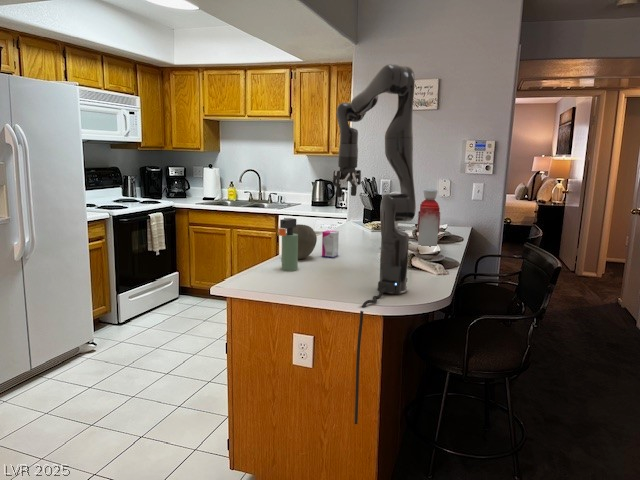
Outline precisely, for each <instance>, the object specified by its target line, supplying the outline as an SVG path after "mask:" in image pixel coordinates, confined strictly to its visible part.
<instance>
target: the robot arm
mask: <svg viewBox="0 0 640 480" xmlns="http://www.w3.org/2000/svg"><path fill="white" fill-rule="evenodd" d="M415 78H416V77H415V72H414V70H413V68H412V67H410V66H408V65H402V64H401V65H400V64H393V63H387V64H385V65H384V66H382V67H381V68H380V69H379V71H377V73H376V75H374V77H373V78H372V79H371V81H370V82H369V84H368V85H367V86H366V87H365V88H364V89H363V90H362V91H361V92H359V93H358V94H357V95H356V96H354V97H353V98H352V100H351V102H341V103H339V104H338V105H337V106H336V107H337V108H336V114H335V115H336V120H337V124H338V129H339V145H338V146H339V147H338V160H337V161H338V162H337V165H338V166H337V167H338V168H339V170H333V174H332V176H333V177H332V186H334V187H335V188H336V194H335V195H336V197H337V198H342V197H343V186H344V184H346V183H347V182H349V183H350V185H351V186H350V196H352V197H356V196H357V191H358V190H357V189H358V188H357V187H358V186H360V185H361V184H362V171H361V169H357V168H358V161H359V158H358V157H359V145H358V143H359V131H358V129H357V128H354V127H351V126H350V124H349V123H358V122H361V121H362V120H363V119H364V117H365V115H366V114H367V112H369V111H370V110H372V109H374V108H375V107H376V105H377V104H378V101H379V96H380V95H382V94H388V95H389V94H390V95H397V107H396V112H395V114H394V116H393V118H392V120H391V121H390V123H389V124H388V126H387V129H386V130H385V134H384V154H385V157H386V160H387V161H388V164H389V165H390V168H392V170H393V171H394V174H395V175H396V178H397V179H398V182H399V188H400V194H399V193H392V194H390V193H386V194H383V196H382V198H381V201H380V256H379V257H380V259H379V260H380V261H379V278H378V279H379V280H378V282H377V292H380V293H379V294H378V295H373V296H372V299H368V300H365V301H364V302H363V303H362V305H361V308H362V309H364V308H366V306H367V305H368V304H375V303H377V301H378V299H380V298H381V297H382V296H383V295H384V294H389V295H398V296H400V295H402V294H405V293H407V283H408V262H409V261H408V260H409V243H410V234H409V233H407V232H406V231H403V230H401V229H398V228H396V227H395V222H398V223H399V222H410V221H413V220H414V218H415V215H416V210H417V209H416V208H417V205H416V204H417V203H416V201H417V200H416V193H415V192H416V190H415V182H414V181H415V180H414V134H413V133H414V132H413V131H414V129H413V113H414V112H413V111H414V98H415V86H416V83H415V82H416V79H415ZM364 313H365V312H364V311H363V310H360V312H359V324H358V333H357V343H356V345H357V346H356V360H355V361H356V363H355V364H356V365H355V395H354V396H355V399H354V400H355V402H354V425H358V420H359V419H358V418H359V393H360V392H359V389H360V360H361V358H360V357H361V342H362V332H363V331H362V330H363V323H364Z"/></svg>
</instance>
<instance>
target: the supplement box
mask: <svg viewBox="0 0 640 480" xmlns="http://www.w3.org/2000/svg"><path fill="white" fill-rule="evenodd" d="M339 234H340V231H338V230H325V231H324V230H323V231H322V236H321V237H322V239H321V257H322V258H329V259H335V258H337V257H339V237H340V235H339Z"/></svg>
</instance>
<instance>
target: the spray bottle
mask: <svg viewBox="0 0 640 480" xmlns="http://www.w3.org/2000/svg"><path fill="white" fill-rule="evenodd" d="M296 225H297V218H292V217H290V218H283V219H280V220H279V229H286V236H281V270H282V271H286V272H295V271H298V270H299V265H298V264H299V262H298V261H299V259H298V234H294V233H293V228H294V227H296Z"/></svg>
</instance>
